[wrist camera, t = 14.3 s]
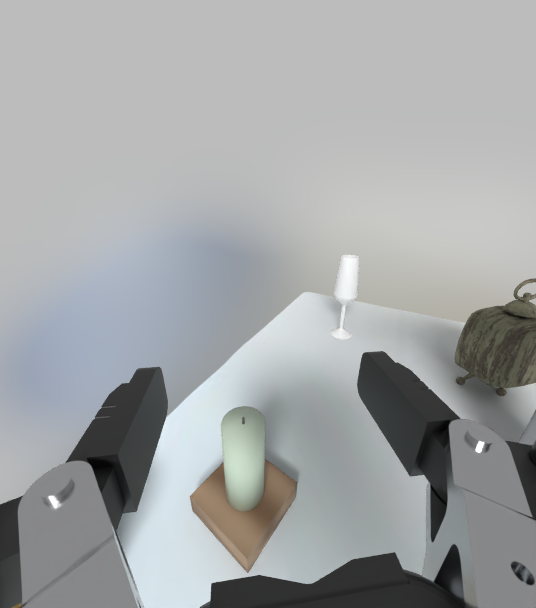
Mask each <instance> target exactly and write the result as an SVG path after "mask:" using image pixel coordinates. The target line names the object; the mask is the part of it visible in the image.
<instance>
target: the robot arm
mask: <svg viewBox="0 0 536 608" xmlns="http://www.w3.org/2000/svg"><path fill="white" fill-rule="evenodd" d="M357 387H358V393H359V396H360V398H361V400H362V401H363V403H364V404H365V406H366V407H367V409H368V411H369V412H370V414H371V415H372V417H373V419H374V420H375V422H376V423H377V425H378V426H379V428H380V430H381V431H382V433H383V434H384V436H385V437H386V439H387V441H388V442H389V444H390V445H391V447H392V449H393V450H394V452H395V453H396V455H397V456H398V458H399V460H400V461H401V463H402V464H403V466H404V467H405V469H406V471H407V472H408V474H409V475H410V476H418V475H425V477H426V478H427V479H428V484H427V489H426V554H425V560H424V565H423V571H422V576H421V575H419V574H416V573H413V572H410V571H407V570H403V569H402V567H401V565H400V562H399V560H398V558H397V556H396V554H395V552H394V553H388V554H382V555H377V556H371V557H365V558H359V559H353V560H351V561H349V562H348V563H346V564H344V565H343V566H341V567H340V568H338V569H336V570H335V571H333V572H331V573H330V574H328V575H326V576H325V577H323V578H321V579H320V580H318V581H316V582H315V583H312V584H303V583H297V582H292V581H287V580H282V579H277V578H272V577H266V576H261V575H257V576H252V577H246V578H240V579H234V580H228V581H222V582H216V583H212V584H211V601H210V602H208V603H206V604H204V605H203V606H201V607H200V608H536V410H535V412H534V414H533V416H532V418H531V420H530V421H529V423H528V425H527V427H526V429H525V431H524V433H523V435H522V437H521V438H520V440H519V442H518V443H516V442H510V441H504V440H503V439H502V438H501V437H500V436H499V435H498V434H497V433H495V432H494V431H493V430H491V429H490V428H488V427H486V426H484V425H482V424H480V423H477V422H474V421H471V420H466V419H460V418H459V417H458V416H457V415H456V414H455V413H454V412H453V411H452V410H451V409H450V408H449V407H448V406H447V405H446V404H445V403H444V402H443V401H442V400H441V399H440V398H439V397H438V396H437V395H436V394H435V393H434V392H433V391H432V390H431V389H428V387H427V386H426V385H425V384H424V383H423V382H422V381H420V379H419V378H418V377H417V376H416V375H415V374H414V373H413V372H412V371H411V370H410V369H408V368H406V367H404V366H403V365H401V364H399V363H395V362H394V361H393V360H392V359H391V358H390V357H389V356H388V355H387V354H386V353H385V352H383V351H379V352H365V353H363V355H362V358H361V364H360V370H359V376H358V383H357ZM167 409H168V400H167V394H166V389H165V384H164V379H163V374H162V370H161V368H160V367H152V368H139V369H137V370H136V372H135V374H134V375H133V377H132V379H131V381H130V382H129V383H125V384H121V385H120V386H119V387H117V388H116V389H115V390H114V391H113V392H112V393H110V394H109V396H108V397H107V399H106V400H105V402H104V403H103V405H102V408H101V409H100V410H99V411H98V413H97V415H96V416H95V419H94V420H93V421H92V422H91V424H90V426H89V427H88V429H87V430H86V432H85V433H84V435H83V437H82V438H81V439H80V441H79V443H78V444H77V446H76V447H75V449H74V450H73V452H72V454H71V455H70V457H69V458H68V460H67V461H66V463H65V464H62V465H59V466H57V467H55V468H53V469H52V470H50V471H48V472H47V473H45V474H44V475H43V476H41V477H40V478H39V479H38V480H36V481H35V482H34V483H33V484H32V485H31V486H30V488H29V489H28V490H27V491H26V493H25V494H24V495H23V496H21V497H19V498H16V499H13V500H11V501H8V502H6V503H3V504H1V505H0V608H12V607H14V606H16V605H18V604H20V603H22V605H21V607H19V608H144V606H143V603H142V601H141V598H140V595H139V592H138V589H137V587H136V584H135V581H134V578H133V575H132V572H131V569H130V567H129V564H128V561H127V558H126V555H125V552H124V549H123V547H122V544H121V541H120V538H119V535H118V532H117V527H118V525H119V522H120V519H121V516H122V513H129V512H136V511H137V508H138V505H139V502H140V499H141V495H142V492H143V489H144V486H145V483H146V479H147V476H148V473H149V470H150V467H151V463H152V460H153V457H154V454H155V451H156V448H157V444H158V441H159V438H160V435H161V432H162V428H163V425H164V422H165V419H166V415H167Z"/></svg>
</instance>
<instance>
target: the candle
mask: <svg viewBox="0 0 536 608" xmlns="http://www.w3.org/2000/svg"><path fill="white" fill-rule="evenodd" d="M221 432H222V446H223V460H224V474H225V488H226V498H227V501H228V503H229V504H230V505H231V507H233V508H234V509H236V510H238V511H249V510H252V509H254V508H255V507H256V506H257V505H258V504H259V503H260V501H261V500H262V497H263V494H264V463H265V418H264V416H263V415H262V413H261V412H260V411H258V410H257V409H255V408H252V407H246V406H243V407H237V408H234V409H232V410H231V411H229V412H228V413H227V414H226V415H225V416H224V418H223V420H222V423H221Z"/></svg>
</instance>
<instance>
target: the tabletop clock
mask: <svg viewBox="0 0 536 608" xmlns="http://www.w3.org/2000/svg"><path fill="white" fill-rule="evenodd" d="M532 282H536V279H529V280H526V281H524V282H522V283H521V284H519V285H518V286H517V287H516V289H515V291H514V297H515V298H516V299H518V300H514V301H512V302H510V303H508V304H506V305H505V306H495V307H490V308H485V309H480V310H478V311H476V312H474V313H472V314H471V316H470V317H469V319H468V320H467V322H466V324H465V326H464V328H463V331H462V333H461V336H460V338H459V342H458V345H457V349H456V353H455V363H456V364H457V365H459V366H460V367H462V368H463V369H465V370H466V371H468V372H469V374H468V375H466V376H465V377H463V378H462V377H458V378H457V379H456V382H457V383H458V384H464V383H465V380H466V379H468V378H471V377H473V376H475V377H477V378H478V379H480V380H481V381H483V382H484V383H486V384H487V385H491V386H496V387H500V388H497V390H496V392H497V394H498V395H501V396H504V395H506V390H505V389H503V388H512V387H519V386H524V385H528V384H532V383H536V305H534V304H533V303H531V302H529V300H531V299H534V298H536V294H535V295H532V296H531V294H530V293H525V294H524V295H523V297H519V296H518V295H517V292H518V290H519V289H520V288H521V287H522V286H524V285H525V284H527V283H532Z"/></svg>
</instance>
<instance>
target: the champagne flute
mask: <svg viewBox="0 0 536 608" xmlns="http://www.w3.org/2000/svg"><path fill="white" fill-rule="evenodd" d="M358 271H359V257H358V256H355V255H342V256H341V259H340V264H339V269H338V274H337V279H336V284H335V289H334V297H335V298H336V300H337V301H338V302H339V303H340V304H341V305H342V310H341V318H340V326H339V328H336V329H333V330H331V331H330V335H331V336H333V337H335V338H338V339H349V338H351V336H352V334H351V333H350V332H349V331H347V330H345V329H344V328H343V326H344V318H345V310H346V305H348V304H350V303H352V302H353V301H354V300H355V299H356V298H357V296H358V273H359V272H358Z"/></svg>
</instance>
